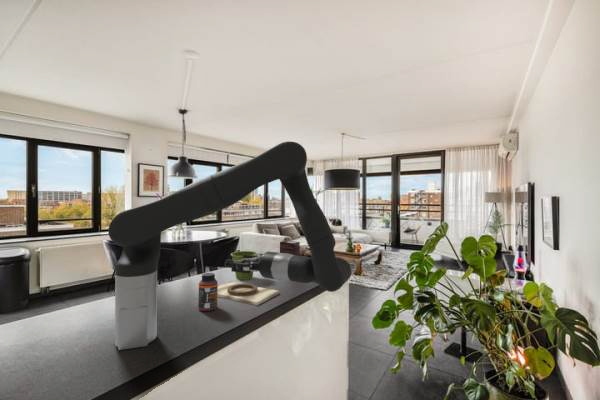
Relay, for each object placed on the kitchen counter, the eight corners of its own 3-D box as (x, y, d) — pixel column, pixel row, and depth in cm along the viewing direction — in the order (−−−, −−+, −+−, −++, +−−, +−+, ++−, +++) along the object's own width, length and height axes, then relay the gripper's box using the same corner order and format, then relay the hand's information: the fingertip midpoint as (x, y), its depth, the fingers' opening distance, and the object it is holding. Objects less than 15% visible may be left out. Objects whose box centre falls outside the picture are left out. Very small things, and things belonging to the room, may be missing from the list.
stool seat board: (279, 293, 110) (279, 287, 110) (257, 305, 97) (257, 298, 97) (230, 284, 121) (230, 278, 121) (205, 293, 109) (205, 287, 109)
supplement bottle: (211, 312, 91) (211, 277, 91) (194, 311, 92) (194, 275, 92) (220, 305, 97) (220, 272, 97) (204, 304, 98) (204, 271, 98)
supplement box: (300, 275, 135) (300, 241, 135) (294, 278, 131) (294, 243, 131) (284, 273, 140) (285, 240, 140) (279, 275, 136) (279, 241, 136)
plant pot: (239, 273, 138) (239, 250, 138) (261, 276, 134) (261, 251, 134) (225, 280, 127) (225, 254, 126) (249, 283, 123) (249, 256, 123)
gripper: (292, 249, 88) (249, 245, 95) (265, 257, 75) (218, 252, 83) (292, 273, 88) (249, 267, 95) (265, 286, 75) (218, 278, 83)
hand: (235, 260), depth 89 cm, fingers open, 8 cm apart
